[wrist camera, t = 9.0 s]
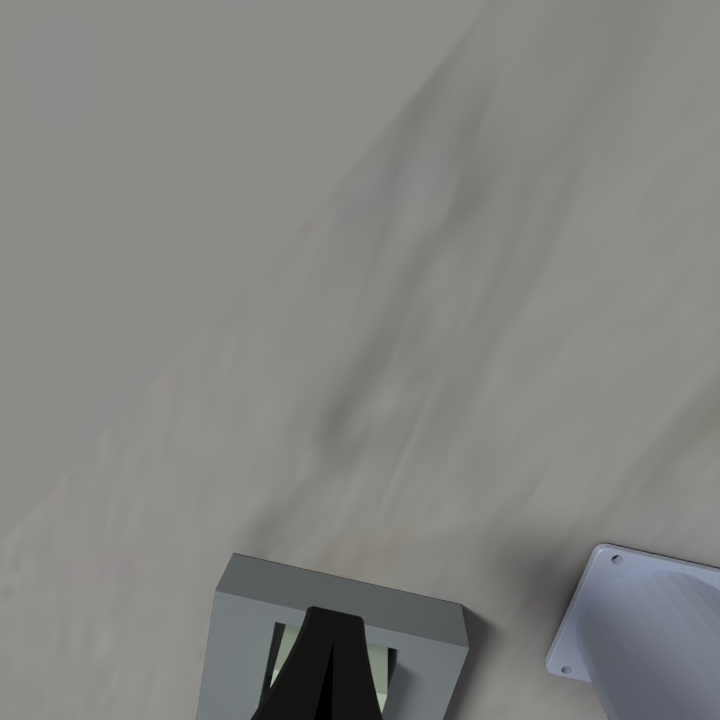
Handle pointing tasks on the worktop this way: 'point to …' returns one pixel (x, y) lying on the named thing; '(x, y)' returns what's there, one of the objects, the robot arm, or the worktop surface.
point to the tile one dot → (375, 653)
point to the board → (288, 606)
